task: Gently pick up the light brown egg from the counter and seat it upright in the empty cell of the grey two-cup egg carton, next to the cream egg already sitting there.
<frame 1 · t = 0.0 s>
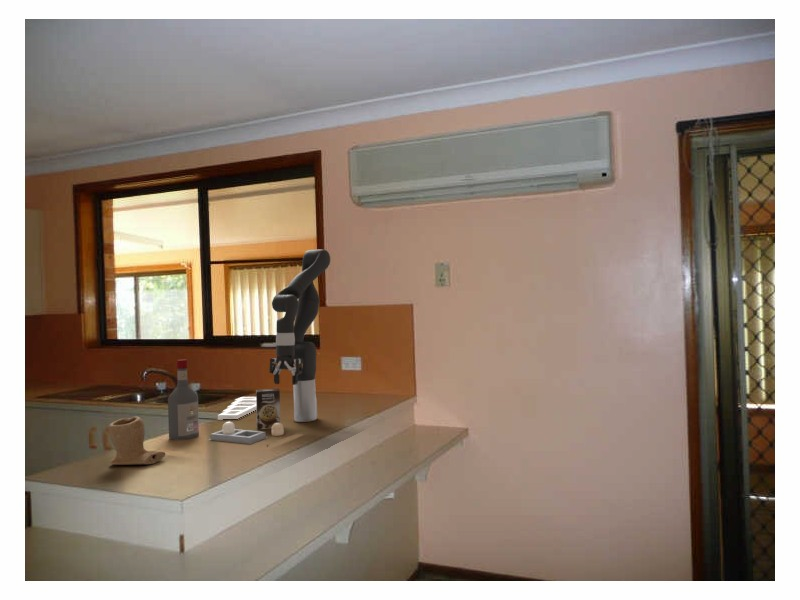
hand: (285, 384, 230), 17 cm above the table, tool pointing down, fingers open, 8 cm apart
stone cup: (134, 465, 182), on the table
coffee box: (268, 431, 224), on the table
holder: (239, 411, 270), on the table
egg carton: (238, 442, 206), on the table
brown egg: (277, 438, 211), on the table
liquor: (184, 441, 212), on the table
cream egg: (228, 437, 208), point 1 cm above the table, touching egg carton
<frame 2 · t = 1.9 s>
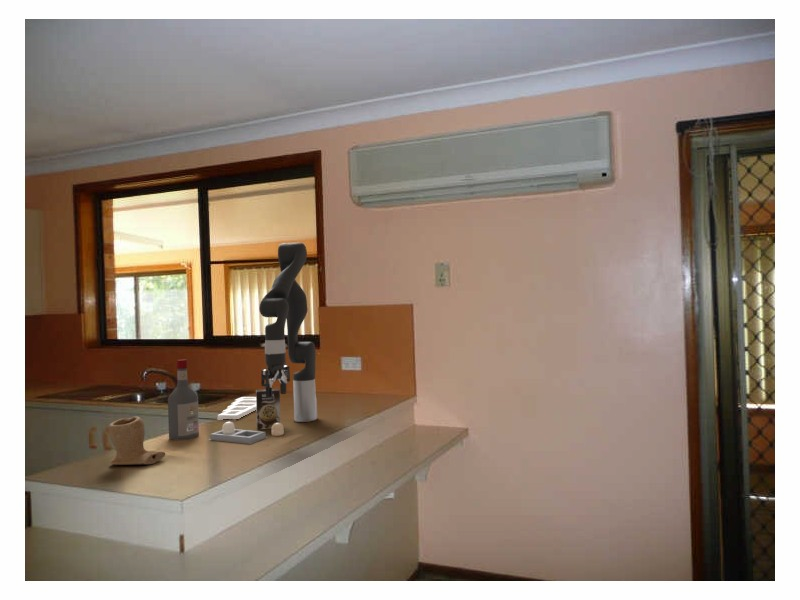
hand: (276, 395, 211), 16 cm above the table, tool pointing down, fingers open, 8 cm apart
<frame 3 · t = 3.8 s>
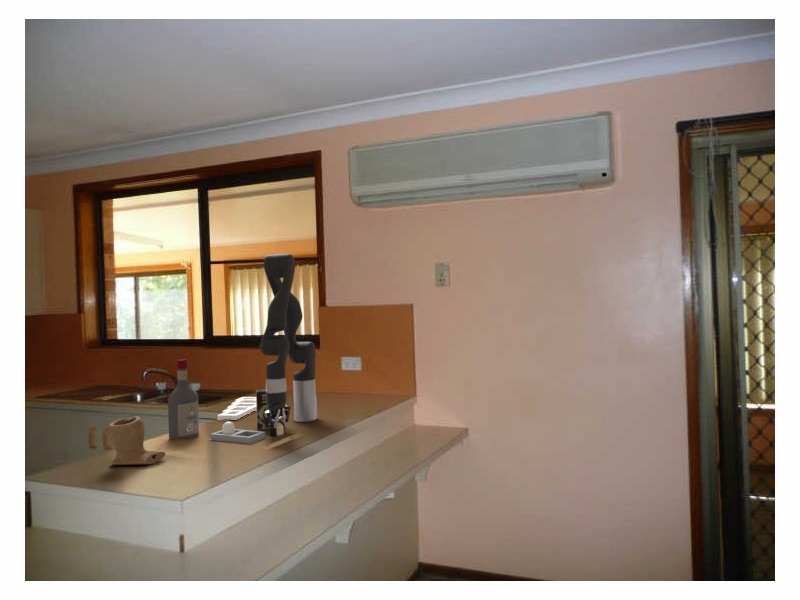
hand: (277, 436, 211), 1 cm above the table, tool pointing down, fingers closed on brown egg, 4 cm apart
brown egg: (277, 438, 211), on the table, touching gripper
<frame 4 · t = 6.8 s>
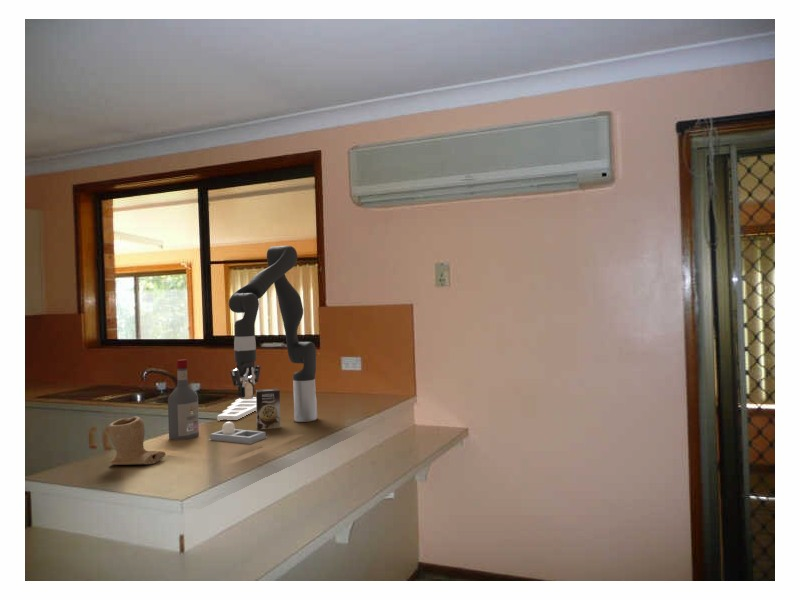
hand: (246, 396, 205), 17 cm above the table, tool pointing down, fingers closed on brown egg, 4 cm apart
brown egg: (246, 398, 205), point 16 cm above the table, touching gripper
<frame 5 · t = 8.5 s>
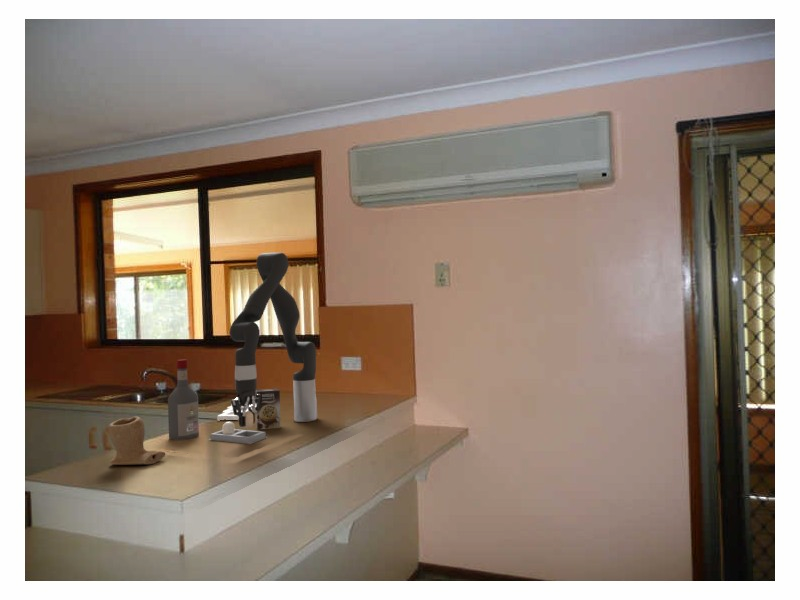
hand: (247, 424, 205), 7 cm above the table, tool pointing down, fingers closed on brown egg, 4 cm apart
brown egg: (247, 427, 205), point 6 cm above the table, touching gripper
when the fingers open (4 cm above the table, at t = 9.9 s): brown egg drops 2 cm, resting on egg carton.
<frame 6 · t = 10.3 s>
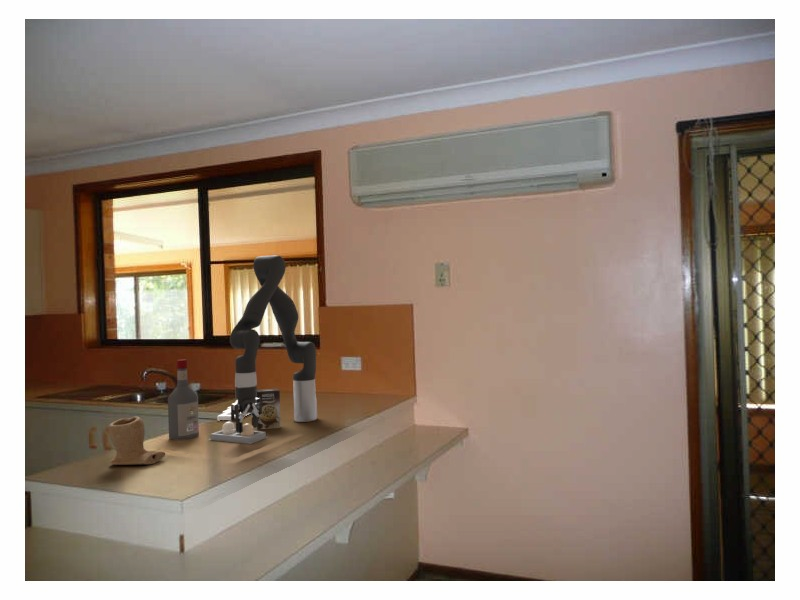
hand: (247, 430, 205), 5 cm above the table, tool pointing down, fingers open, 8 cm apart
brown egg: (247, 439, 205), point 2 cm above the table, touching egg carton
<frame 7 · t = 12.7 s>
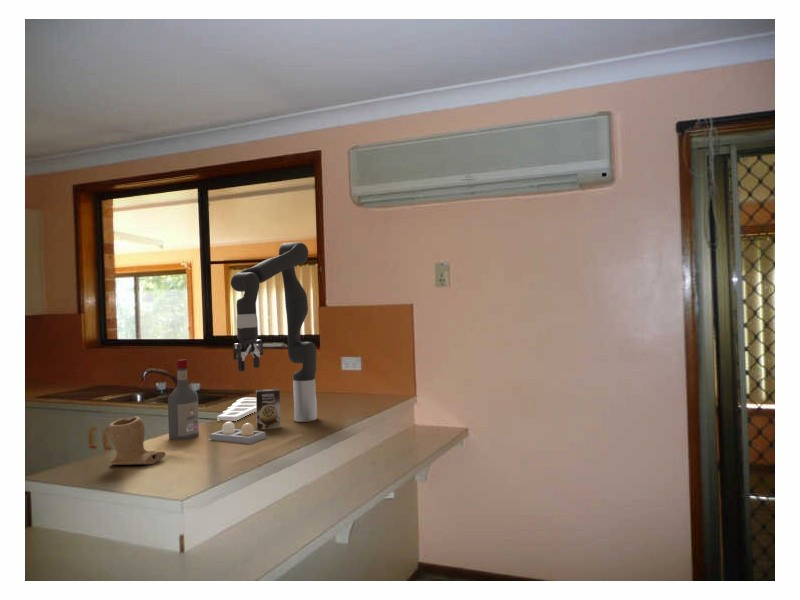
hand: (249, 369, 213), 26 cm above the table, tool pointing down, fingers open, 8 cm apart
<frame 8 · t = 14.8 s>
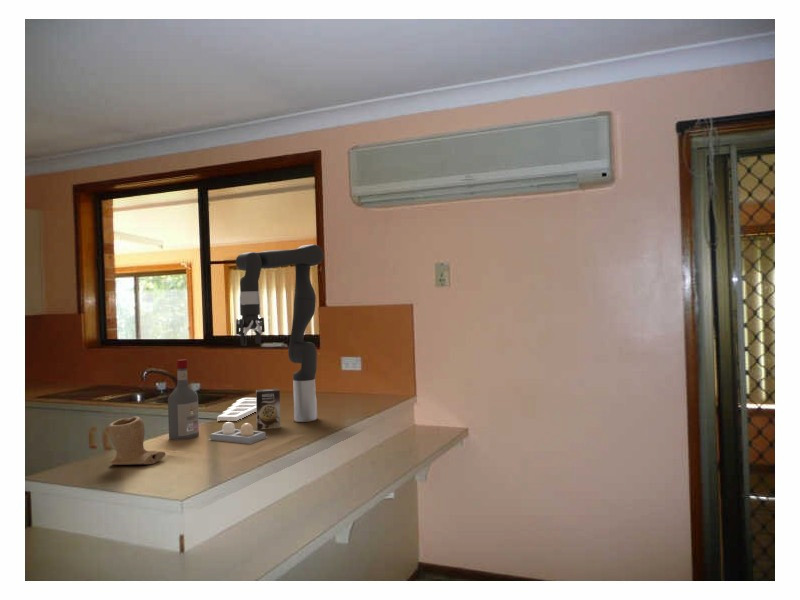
hand: (251, 344, 223), 34 cm above the table, tool pointing down, fingers open, 8 cm apart
at the end: brown egg 0.1 cm from the target spot on the egg carton, point 1.6 cm above the egg carton's base; brown egg tilted 3°; the gripper is holding nothing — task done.
